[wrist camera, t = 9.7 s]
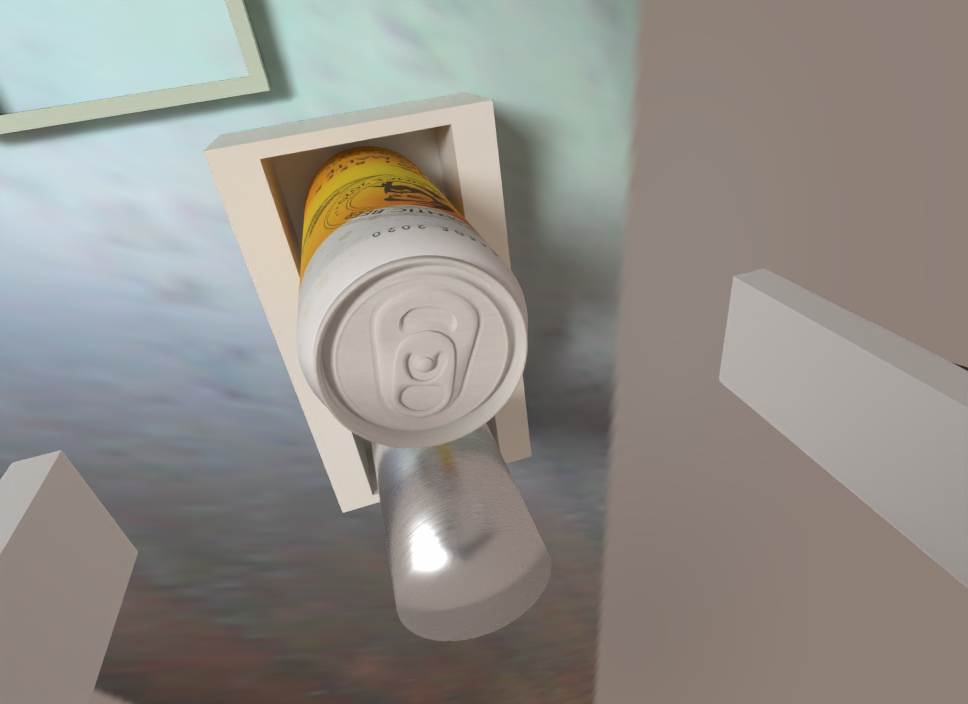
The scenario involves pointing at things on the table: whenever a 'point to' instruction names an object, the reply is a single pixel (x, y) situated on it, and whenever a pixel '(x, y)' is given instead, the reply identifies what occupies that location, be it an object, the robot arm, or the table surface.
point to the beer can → (403, 306)
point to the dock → (279, 233)
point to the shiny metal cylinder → (458, 538)
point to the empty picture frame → (158, 98)
